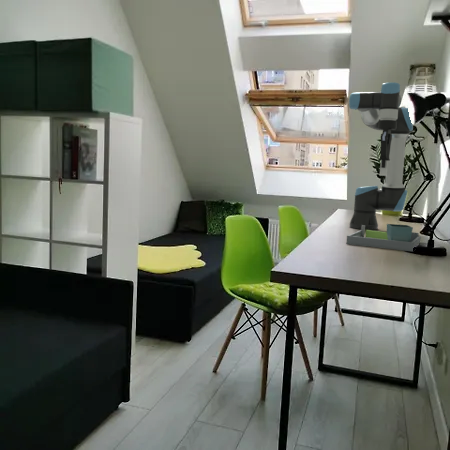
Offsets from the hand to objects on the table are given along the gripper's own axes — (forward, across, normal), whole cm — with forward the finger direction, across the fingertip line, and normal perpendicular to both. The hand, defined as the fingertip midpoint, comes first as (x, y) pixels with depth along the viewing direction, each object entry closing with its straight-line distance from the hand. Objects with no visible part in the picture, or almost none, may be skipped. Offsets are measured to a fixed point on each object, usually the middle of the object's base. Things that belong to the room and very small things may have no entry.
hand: (383, 175), depth 206 cm
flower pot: (+30, +5, +9) cm, 31 cm away
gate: (+29, -8, -1) cm, 30 cm away
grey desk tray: (+29, +2, +2) cm, 30 cm away
